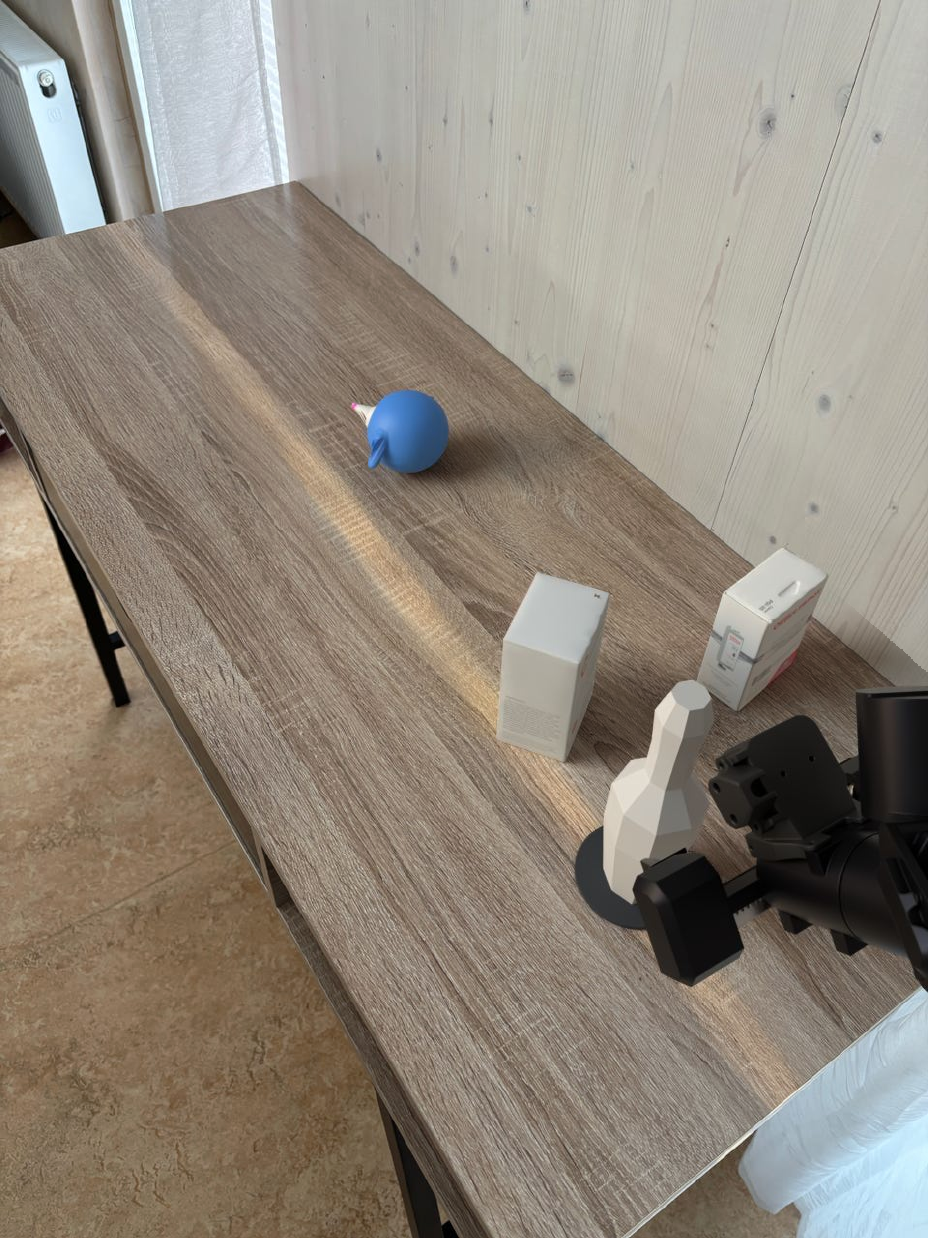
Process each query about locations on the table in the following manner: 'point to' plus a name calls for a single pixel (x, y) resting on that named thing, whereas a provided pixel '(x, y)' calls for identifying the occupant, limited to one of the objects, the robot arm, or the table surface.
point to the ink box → (760, 627)
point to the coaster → (602, 885)
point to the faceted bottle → (659, 790)
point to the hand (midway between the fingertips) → (701, 835)
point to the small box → (550, 665)
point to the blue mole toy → (405, 431)
